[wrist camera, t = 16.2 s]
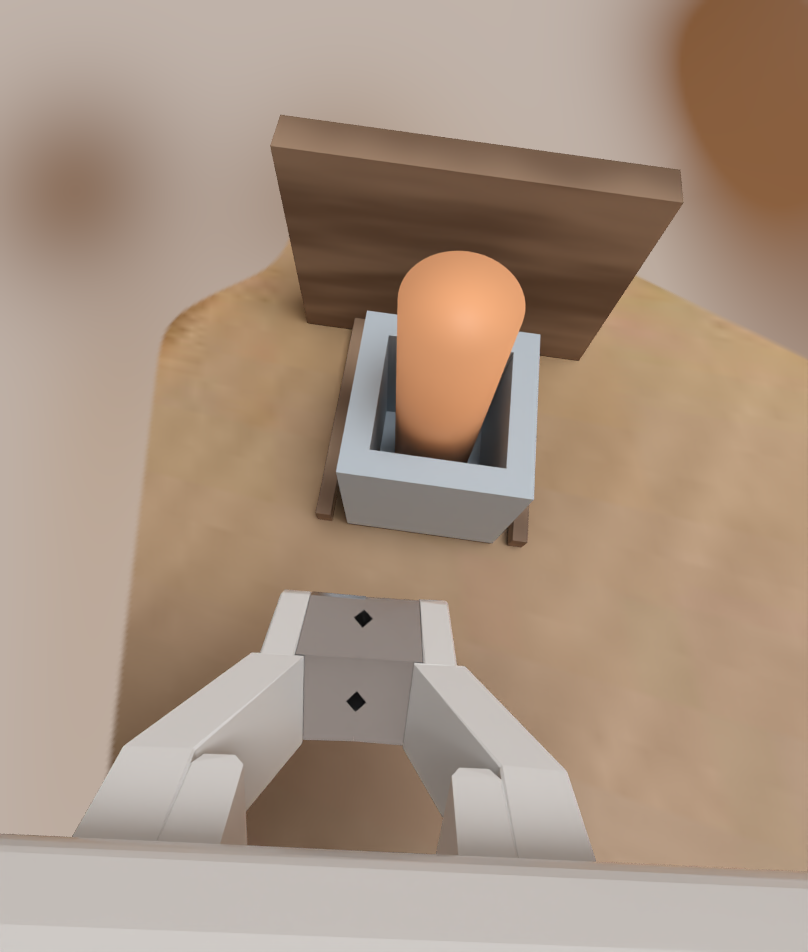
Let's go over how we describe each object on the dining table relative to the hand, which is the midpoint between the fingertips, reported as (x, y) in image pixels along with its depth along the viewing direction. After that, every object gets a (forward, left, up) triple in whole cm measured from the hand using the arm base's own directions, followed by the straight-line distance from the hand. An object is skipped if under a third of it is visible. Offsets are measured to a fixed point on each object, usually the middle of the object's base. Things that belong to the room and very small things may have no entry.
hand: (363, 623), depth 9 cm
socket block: (+10, -2, -18) cm, 21 cm away
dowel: (+10, -2, -17) cm, 20 cm away
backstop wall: (+14, -2, -18) cm, 23 cm away
